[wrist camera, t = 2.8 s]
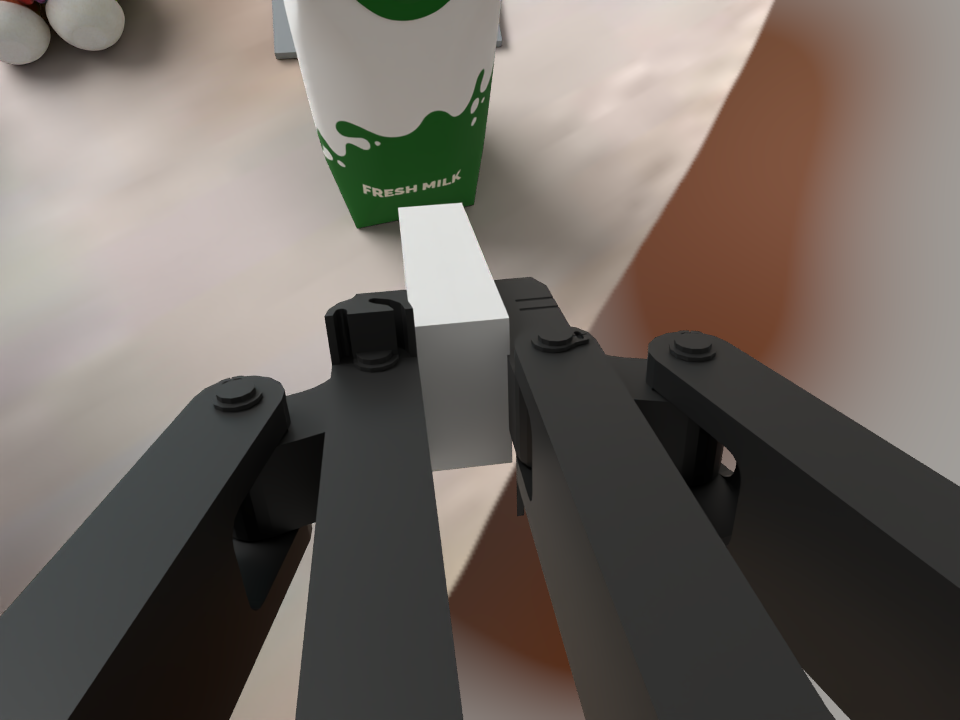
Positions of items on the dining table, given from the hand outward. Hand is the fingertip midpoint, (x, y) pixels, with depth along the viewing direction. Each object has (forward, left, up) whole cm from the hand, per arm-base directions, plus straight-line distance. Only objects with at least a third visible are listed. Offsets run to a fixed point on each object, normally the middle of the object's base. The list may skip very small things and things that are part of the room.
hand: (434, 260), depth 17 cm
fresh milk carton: (-3, +16, -21) cm, 27 cm away
